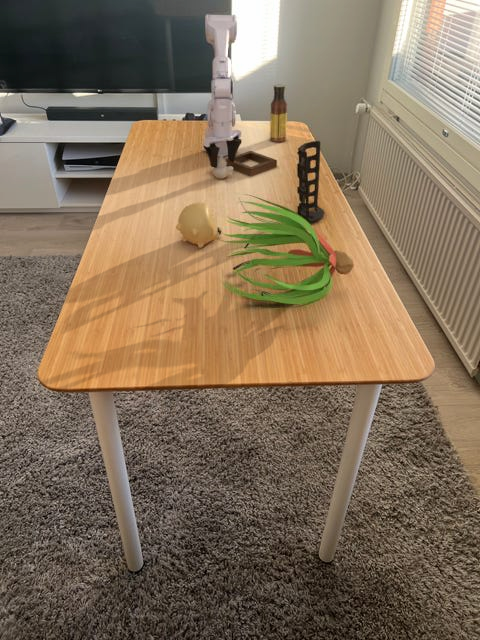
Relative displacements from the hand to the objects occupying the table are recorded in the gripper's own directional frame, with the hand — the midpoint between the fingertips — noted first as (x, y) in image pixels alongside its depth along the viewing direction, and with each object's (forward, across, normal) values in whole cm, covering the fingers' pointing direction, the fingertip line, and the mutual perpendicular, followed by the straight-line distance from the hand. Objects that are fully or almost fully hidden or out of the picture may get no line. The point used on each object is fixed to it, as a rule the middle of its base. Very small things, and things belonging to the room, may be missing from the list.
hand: (222, 163), depth 166 cm
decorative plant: (+5, -37, -59) cm, 70 cm away
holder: (+5, -1, -37) cm, 37 cm away
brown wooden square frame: (+5, +14, +1) cm, 15 cm away
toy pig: (+5, -34, -28) cm, 44 cm away
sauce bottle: (+5, +42, +14) cm, 45 cm away
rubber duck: (+5, 0, 0) cm, 5 cm away
